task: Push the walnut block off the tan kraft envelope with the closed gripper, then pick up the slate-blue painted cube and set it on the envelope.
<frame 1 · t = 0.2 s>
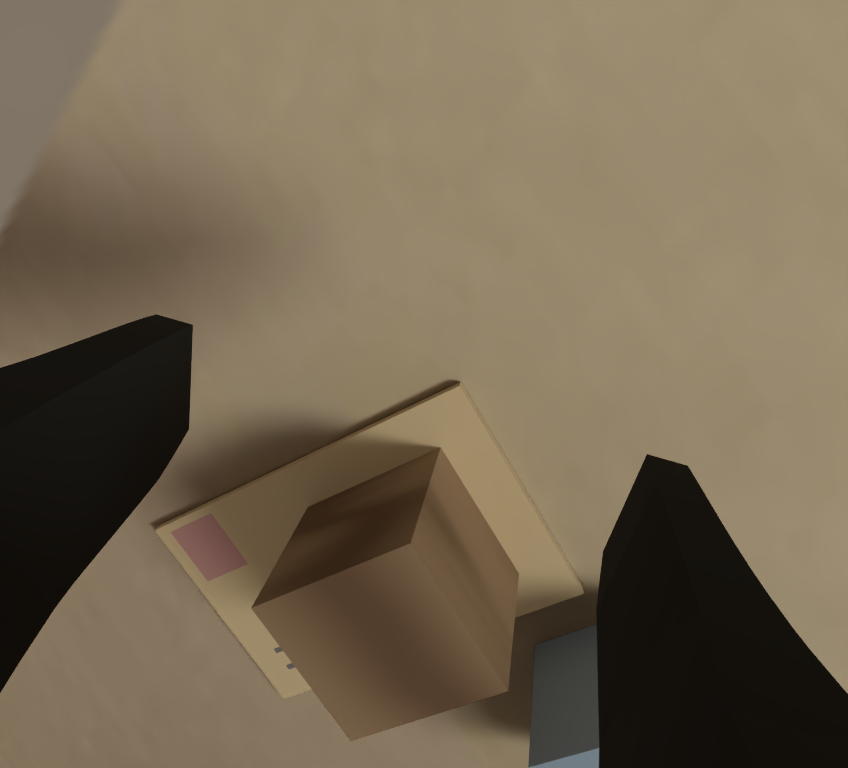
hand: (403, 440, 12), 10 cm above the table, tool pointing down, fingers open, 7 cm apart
slate cube: (636, 675, 26), on the table
letter: (363, 555, 26), on the table
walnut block: (412, 540, 25), resting on letter
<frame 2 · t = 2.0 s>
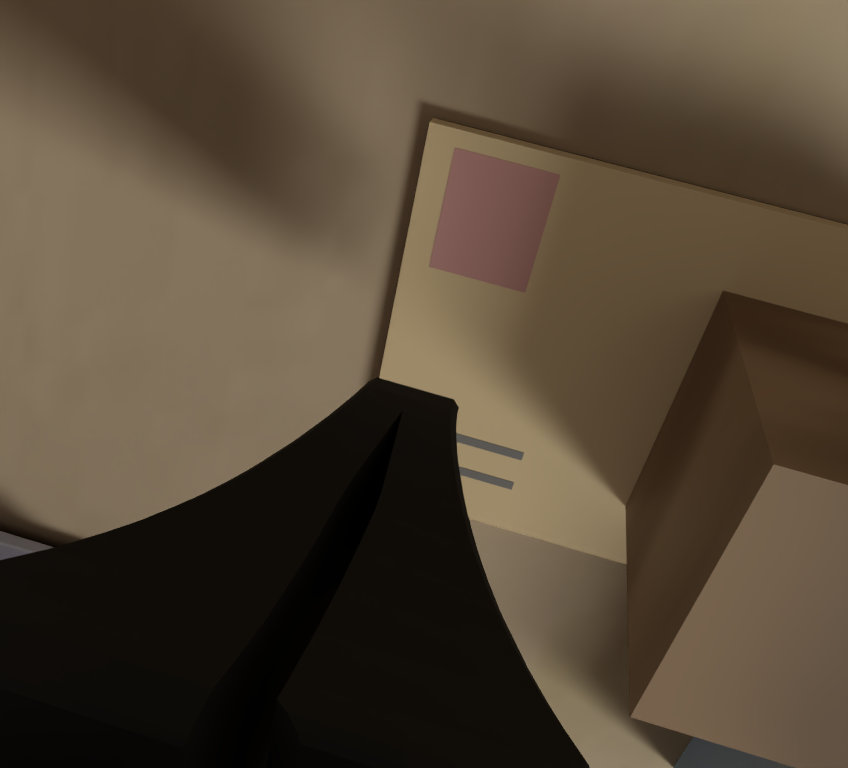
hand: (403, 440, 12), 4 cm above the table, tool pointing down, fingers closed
slate cube: (812, 738, 19), on the table
letter: (694, 407, 15), on the table
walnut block: (802, 445, 15), resting on letter
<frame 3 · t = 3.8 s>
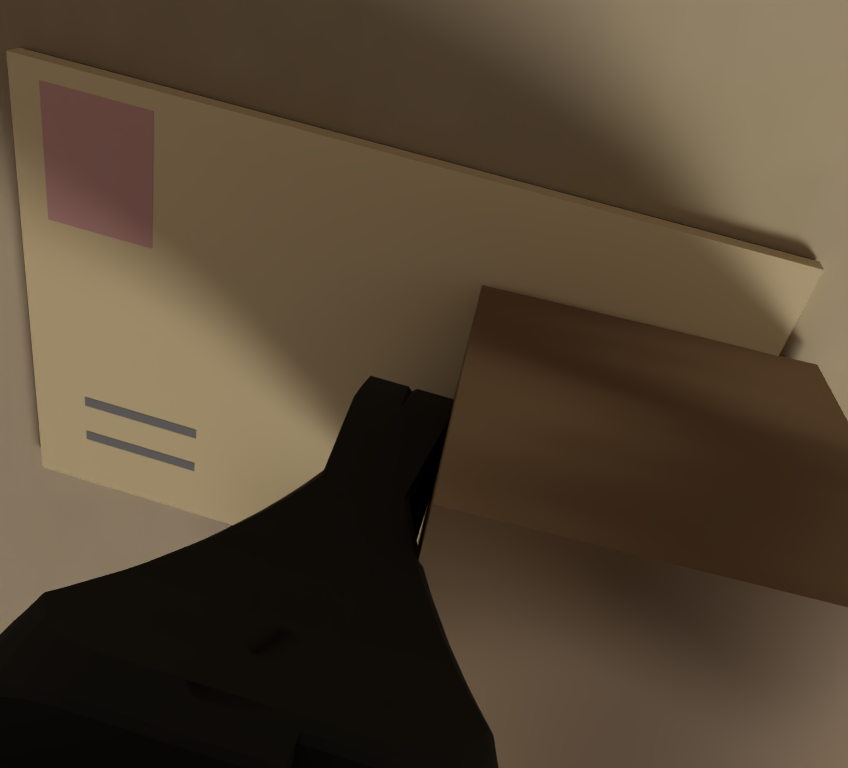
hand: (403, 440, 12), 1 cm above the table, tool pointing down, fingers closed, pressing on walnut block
letter: (362, 378, 13), on the table
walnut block: (597, 456, 13), resting on letter, touching gripper
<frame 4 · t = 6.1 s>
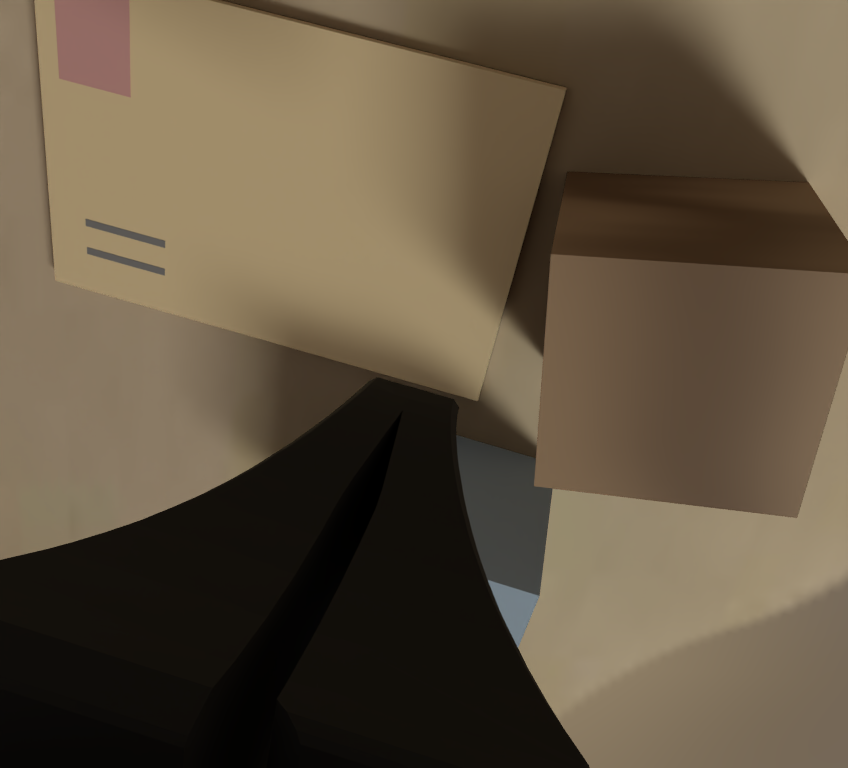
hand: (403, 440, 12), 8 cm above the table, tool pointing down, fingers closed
slate cube: (449, 502, 23), on the table
letter: (279, 194, 19), on the table
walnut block: (667, 282, 18), on the table
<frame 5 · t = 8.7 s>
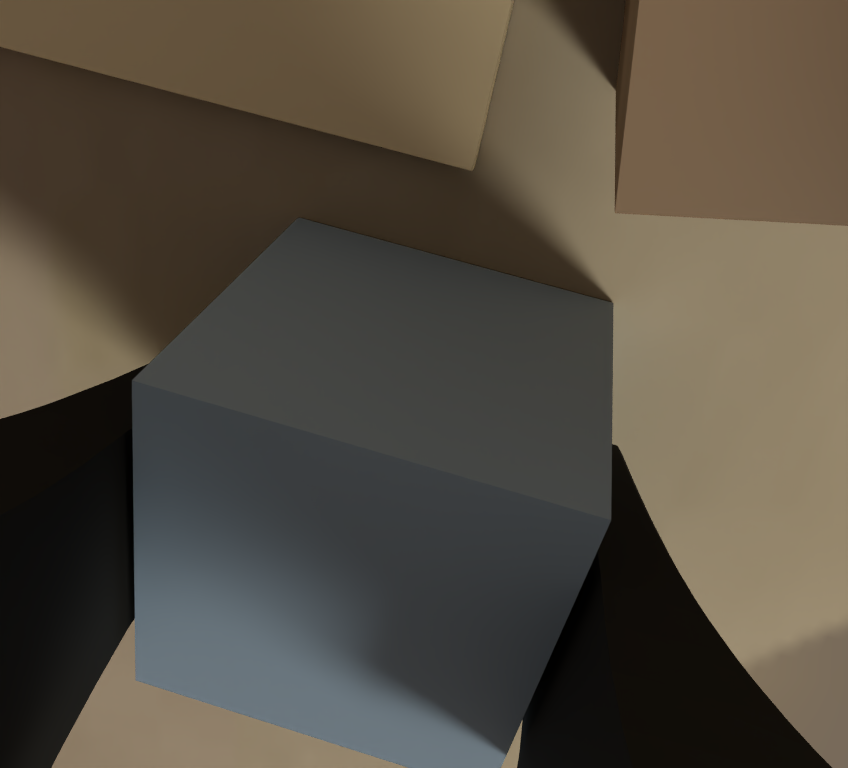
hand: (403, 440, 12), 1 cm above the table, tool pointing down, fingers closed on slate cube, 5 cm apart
slate cube: (422, 392, 13), on the table, touching gripper
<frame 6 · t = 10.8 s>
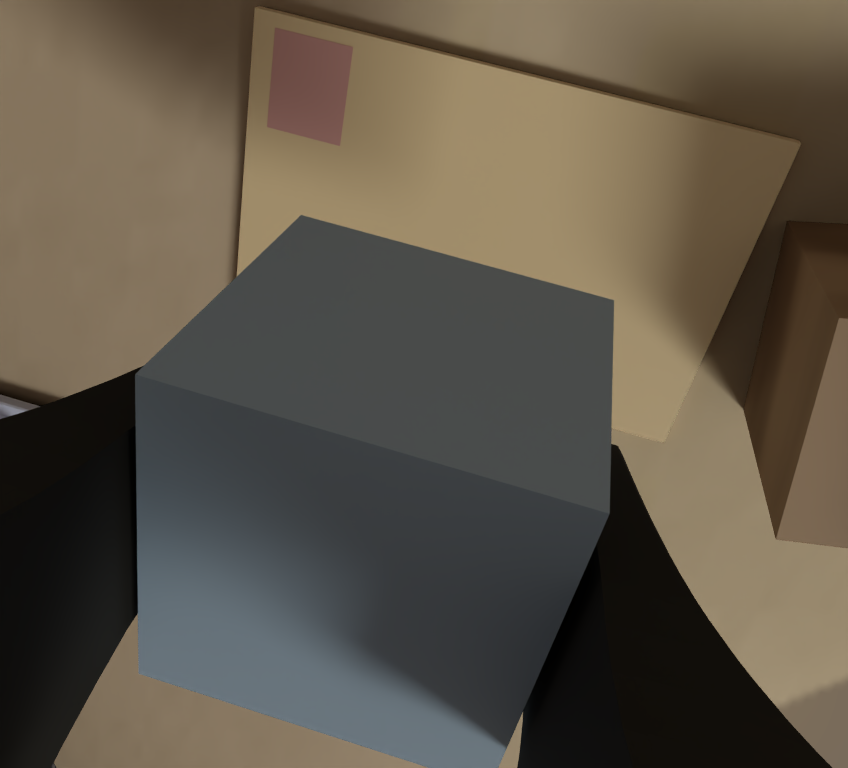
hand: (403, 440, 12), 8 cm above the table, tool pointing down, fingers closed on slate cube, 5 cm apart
slate cube: (424, 389, 13), point 7 cm above the table, touching gripper
letter: (480, 241, 19), on the table
when the fingers open (3 cm above the table, at t = 12.7 s): slate cube stays where it is, resting on letter.
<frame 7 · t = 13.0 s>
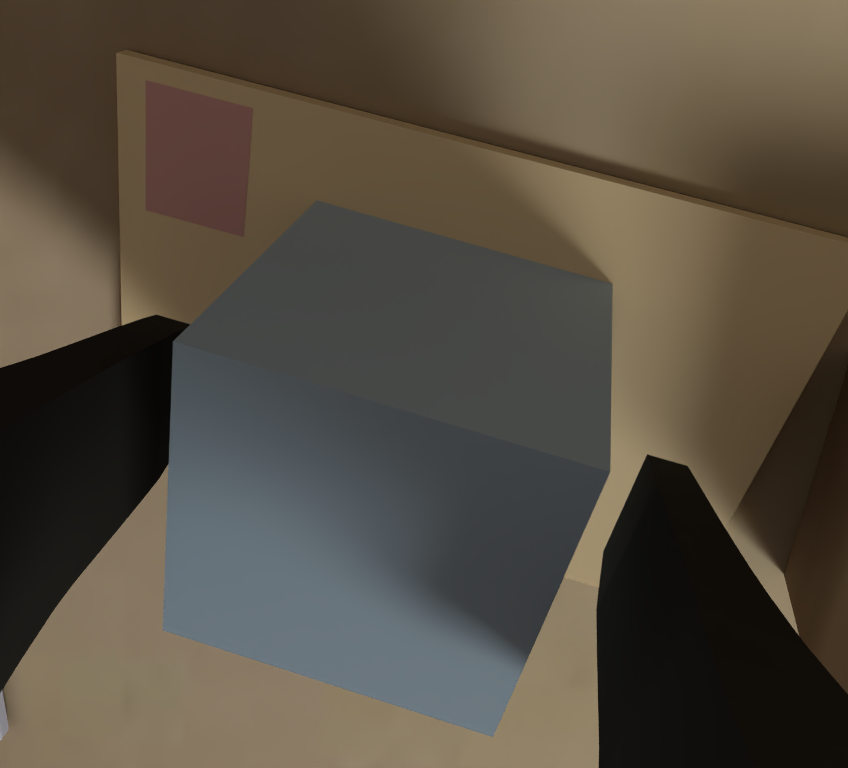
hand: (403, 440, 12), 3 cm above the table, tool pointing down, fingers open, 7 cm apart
slate cube: (430, 368, 14), resting on letter
letter: (435, 359, 14), on the table
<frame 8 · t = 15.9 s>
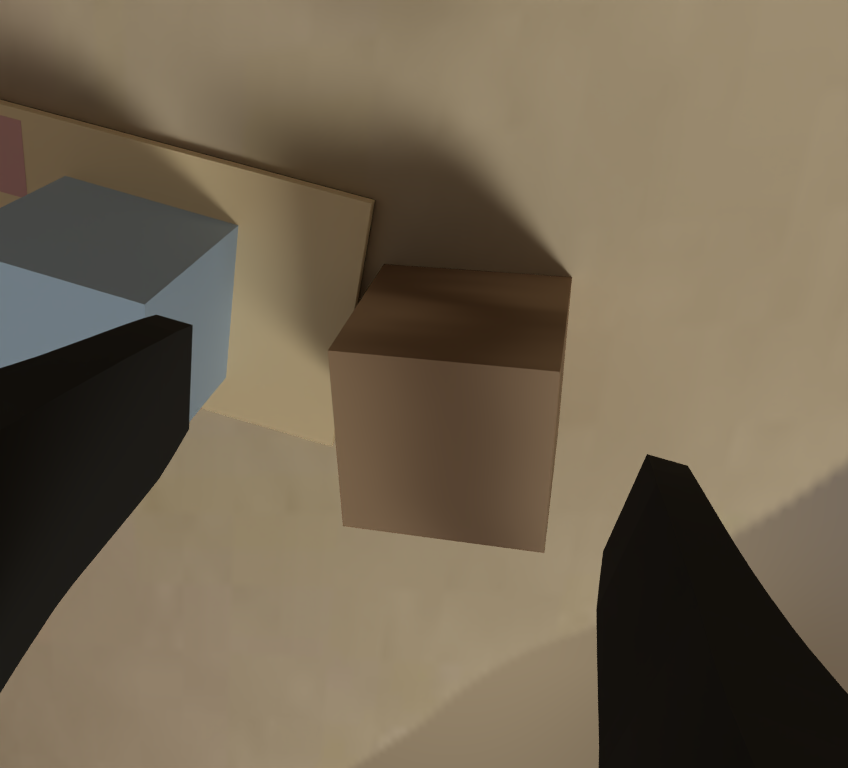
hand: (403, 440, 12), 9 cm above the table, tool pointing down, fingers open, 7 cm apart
slate cube: (150, 282, 23), resting on letter
letter: (156, 277, 23), on the table
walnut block: (474, 352, 22), on the table
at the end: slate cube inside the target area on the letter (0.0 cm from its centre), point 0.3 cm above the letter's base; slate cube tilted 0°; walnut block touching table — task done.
